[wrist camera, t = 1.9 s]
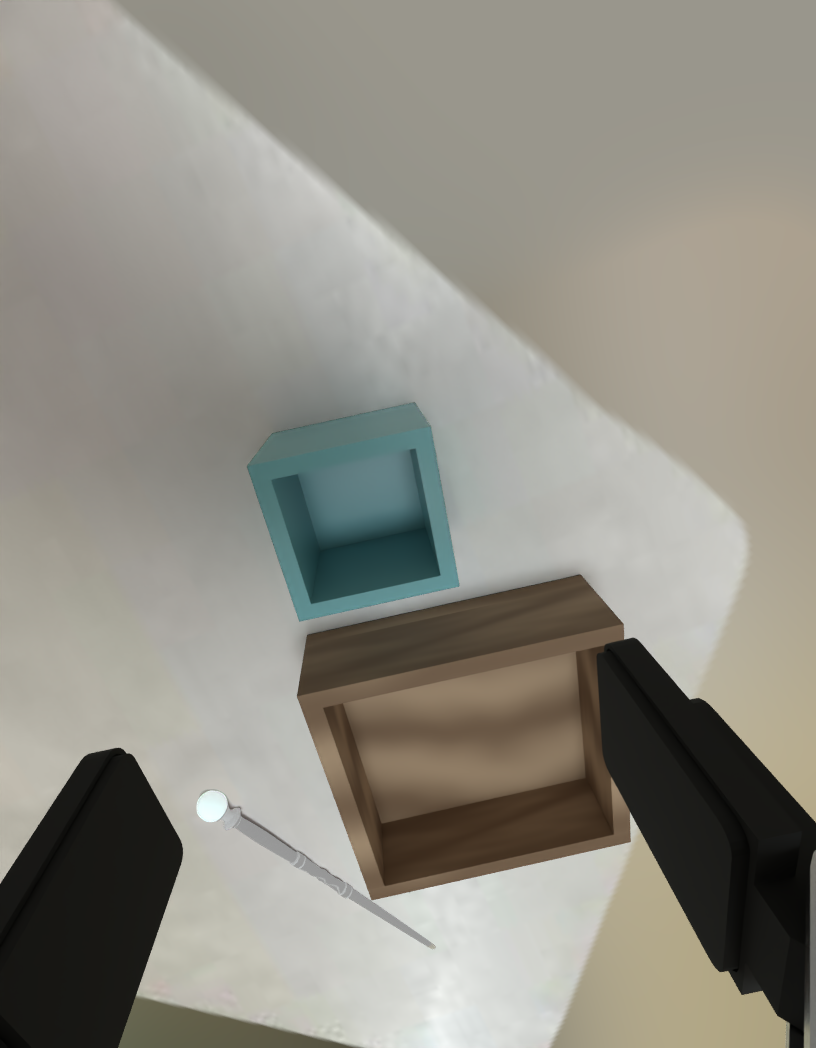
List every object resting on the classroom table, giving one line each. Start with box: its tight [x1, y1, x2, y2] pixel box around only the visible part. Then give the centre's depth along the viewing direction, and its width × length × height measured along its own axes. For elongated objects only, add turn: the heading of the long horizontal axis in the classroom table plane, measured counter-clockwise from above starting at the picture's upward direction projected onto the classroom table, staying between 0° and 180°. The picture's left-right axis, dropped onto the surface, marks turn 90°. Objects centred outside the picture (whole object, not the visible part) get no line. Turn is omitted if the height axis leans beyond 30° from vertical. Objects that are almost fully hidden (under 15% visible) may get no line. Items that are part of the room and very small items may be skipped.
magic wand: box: [197, 791, 436, 949], centre depth 36 cm, size 2×25×2 cm
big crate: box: [297, 575, 631, 900], centre depth 29 cm, size 16×16×5 cm
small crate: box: [247, 402, 459, 622], centre depth 23 cm, size 7×7×6 cm
